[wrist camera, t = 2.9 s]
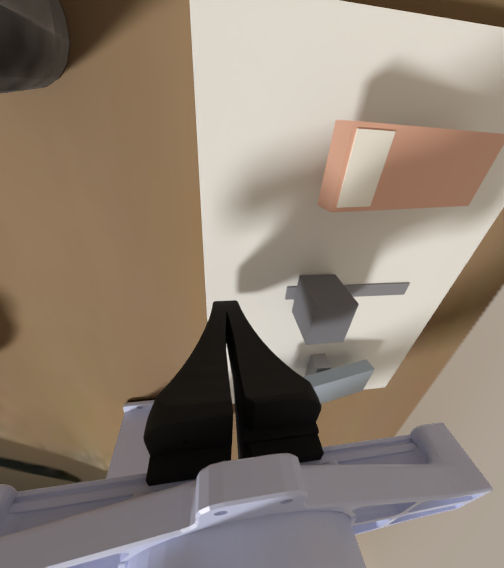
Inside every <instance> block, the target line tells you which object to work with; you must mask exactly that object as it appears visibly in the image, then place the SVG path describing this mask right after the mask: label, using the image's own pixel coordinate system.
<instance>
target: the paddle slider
mask: <svg viewBox="0 0 504 568" xmlns="http://www.w3.org/2000/svg"><path fill="white" fill-rule="evenodd" d="M358 305H359V304H358V302H357V301H356V300H355V299H354V297H353V296H352V295H351V294H350V292H349V291H348V290H347V288H346V287H345V286H344V285H343V283H342V282H341V281H340V280H339V278H338V277H337V276H336V275H335V274H325V275H299V279H298V284H297V289H296V294H295V298H294V303H293V308H292V313H293V316H294V318H295V320H296V323H297V325H298V327H299V330H300V332H301V335H302V337H303V339H304V342H305V344H306V345H311V344H325V343H338V342H344V339H345V337H346V334H347V332H348V329H349V327H350V325H351V322H352V320H353V317H354V315H355V312H356V310H357V308H358Z"/></svg>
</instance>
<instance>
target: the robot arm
mask: <svg viewBox="0 0 504 568" xmlns="http://www.w3.org/2000/svg"><path fill="white" fill-rule="evenodd" d="M226 343H227V349H228V355H229V361H230V367H231V372H232V379H233V387H234V400H235V414H236V429H237V444H238V459H237V460H231V446H232V428H233V408H232V398H231V390H230V381H229V372H228V363H227V353H226ZM123 410H124V412H125V413H124V417H123V421H122V424H121V428H120V431H119V435H118V438H117V442H116V445H115V449H114V452H113V456H112V459H111V463H110V467H109V470H108V474H107V477H106V479H102V480H95V481H89V482H81V483H75V484H68V485H61V486H55V487H47V488H40V489H33V490H27V491H20V492H17V491H16V490H15V489H14V487H12V486H9V485H4V484H0V568H366V566H365V563H364V560H363V557H362V555H361V552H360V549H359V546H358V543H357V540H356V537H355V535H357V534H360V533H364V532H368V531H371V530H375V529H379V528H383V527H386V526H390V525H394V524H397V523H401V522H405V521H408V520H413V519H416V518H420V517H425V516H429V515H432V514H437V513H442V512H446V511H450V510H455V509H458V508H460V507H462V506H464V505H466V504H468V503H470V502H472V501H473V500H475V499H477V498H479V497H481V496H483V495H485V494H487V493H489V492H491V491H492V490H493V489H492V487H491V485H490V484H489V482H488V481H487V480H486V479H485V477H484V476H483V475H482V473H481V472H480V471H479V469H478V468H477V467H476V465H475V464H474V463H473V462H472V460H471V459H470V458H469V456H468V455H467V454H466V453H465V451H464V450H463V448H462V447H461V446H460V444H459V443H458V442H457V441H456V439H455V438H454V437H453V435H452V434H451V433H450V431H449V430H448V429H447V427H446V426H445V425H444V423H441V422H440V423H432V424H425V425H420V426H418V427H416V428H415V429H413V430H412V431H411V433H410V435H404V436H396V437H390V438H383V439H376V440H369V441H362V442H355V443H348V444H342V445H335V446H328V447H322V446H321V443H320V440H319V437H318V433H319V430H318V427H317V424H316V420H317V418H318V416H319V413H320V411H321V404H320V401H319V398H318V396H317V394H316V392H315V390H314V388H313V386H312V385H311V383H310V382H309V381H308V380H306V379H305V378H304V377H302V376H301V375H299V374H298V373H296V372H295V371H294V370H292V369H291V368H290V367H289V366H287V365H286V364H285V363H284V362H283V361H282V360H281V359H280V358H279V357H277V356H276V355H275V354H274V353H273V352H272V351H271V350H270V349H269V348H268V346H267V345H266V344H265V343H264V342H263V341H262V340H261V338H260V337H259V336H258V335H257V333H256V332H255V331H254V329H253V328H252V326H251V325H250V323H249V322H248V320H247V319H246V317H245V315H244V313H243V312H242V310H241V308H240V305H239V303H238V301H237V300H231V301H214V302H213V305H212V310H211V314H210V317H209V320H208V322H207V325H206V327H205V330H204V332H203V334H202V336H201V338H200V340H199V342H198V344H197V345H196V347H195V349H194V350H193V352H192V354H191V355H190V357H189V358H188V360H187V361H186V363H185V364H184V365H183V367H182V368H181V369H180V371H179V372H178V373H177V374H176V376H175V377H174V378H173V379H172V380H171V382H170V383H169V384H168V385H167V386H166V387H165V388H164V389H163V390H162V391H161V392H160V394H159V395H158V396H157V397H156V399H155V400H149V401H139V402H129V403H126V404H124V407H123Z"/></svg>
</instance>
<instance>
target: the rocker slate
mask: <svg viewBox="0 0 504 568" xmlns="http://www.w3.org/2000/svg"><path fill="white" fill-rule="evenodd" d="M374 370H375V369H374V368H373V366H372V365H371V364H370V363H369V362H368V361H367V359H365V360H362V361H358V362H354V363H351V364H347V365H344V366H340V367H336V368H333V369H329V370H325V371H322V372H318V373H314V374H311V375H307V376H304V378H305V379H306V380H308V381H309V382H310V383H311V385H312V386H313V388H314V390H315V392H316V394H317V396H318V398H319V401H320V404H322V403H325V402H328V401H332V400H335V399H338V398H341V397H344V396H347V395H350V394H353V393H356V392H360V391H363V389H364V387H365V386H366V384H367V382H368V380H369V379H370V377H371V375H372V373H373V372H374Z"/></svg>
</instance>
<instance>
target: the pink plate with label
mask: <svg viewBox="0 0 504 568" xmlns="http://www.w3.org/2000/svg"><path fill="white" fill-rule="evenodd" d="M503 145H504V134H500V133H488V132H477V131H466V130H454V129H443V128H431V127H420V126H409V125H397V124H386V123H374V122H363V121H350V120H336V121H335V126H334V130H333V135H332V140H331V144H330V149H329V153H328V158H327V163H326V167H325V172H324V176H323V181H322V186H321V190H320V195H319V199H318V204H317V205H318V206H320V207H322V208H324V209H325V210H327V211H329V212H351V211H372V210H393V209H413V208H434V207H455V206H469V204H470V202H471V201H472V199H473V197H474V195H475V194H476V192H477V190H478V188H479V187H480V185H481V183H482V181H483V180H484V178H485V176H486V175H487V173H488V171H489V169H490V168H491V166H492V164H493V162H494V161H495V159H496V157H497V155H498V154H499V152H500V150H501V148H502V147H503Z"/></svg>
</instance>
